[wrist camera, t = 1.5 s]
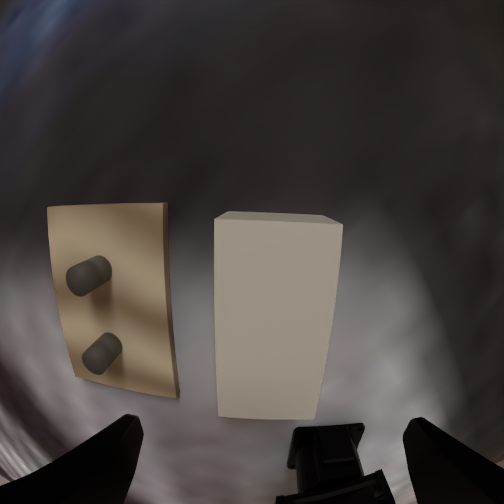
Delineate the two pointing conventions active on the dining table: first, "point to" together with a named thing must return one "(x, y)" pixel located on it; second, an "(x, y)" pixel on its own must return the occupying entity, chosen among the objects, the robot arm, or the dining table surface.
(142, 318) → the base
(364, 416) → the dining table surface
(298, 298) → the block
